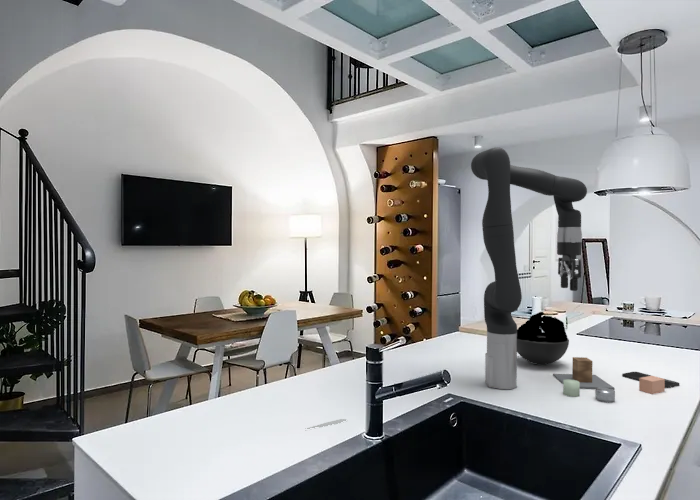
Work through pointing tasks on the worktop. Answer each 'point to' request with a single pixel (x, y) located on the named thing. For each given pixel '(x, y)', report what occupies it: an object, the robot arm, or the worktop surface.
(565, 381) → the sage cylinder
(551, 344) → the coal bowl
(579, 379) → the walnut block
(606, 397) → the grey metal puck
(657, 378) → the terracotta brick
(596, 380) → the charcoal mat
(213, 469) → the worktop surface
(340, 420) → the butter knife
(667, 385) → the phone
